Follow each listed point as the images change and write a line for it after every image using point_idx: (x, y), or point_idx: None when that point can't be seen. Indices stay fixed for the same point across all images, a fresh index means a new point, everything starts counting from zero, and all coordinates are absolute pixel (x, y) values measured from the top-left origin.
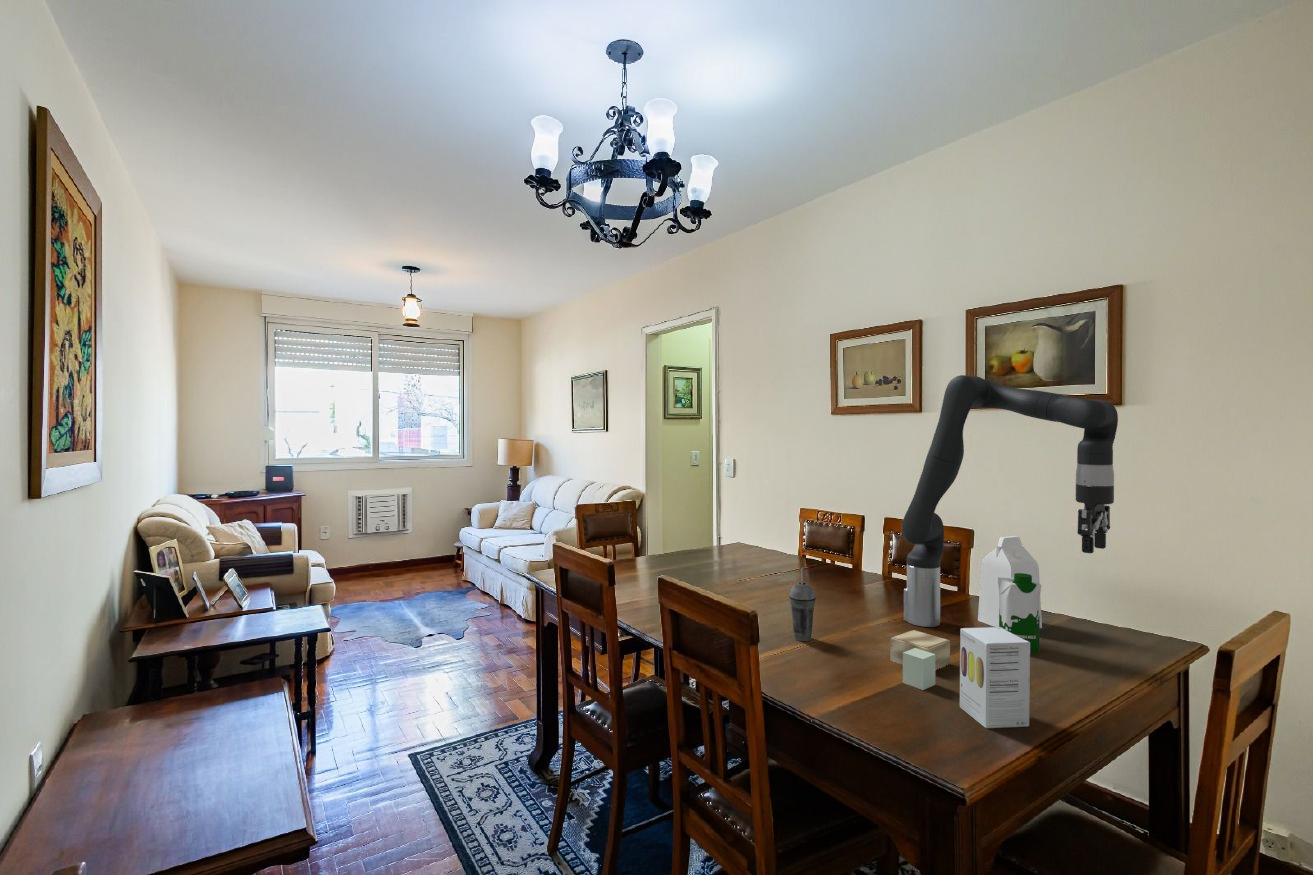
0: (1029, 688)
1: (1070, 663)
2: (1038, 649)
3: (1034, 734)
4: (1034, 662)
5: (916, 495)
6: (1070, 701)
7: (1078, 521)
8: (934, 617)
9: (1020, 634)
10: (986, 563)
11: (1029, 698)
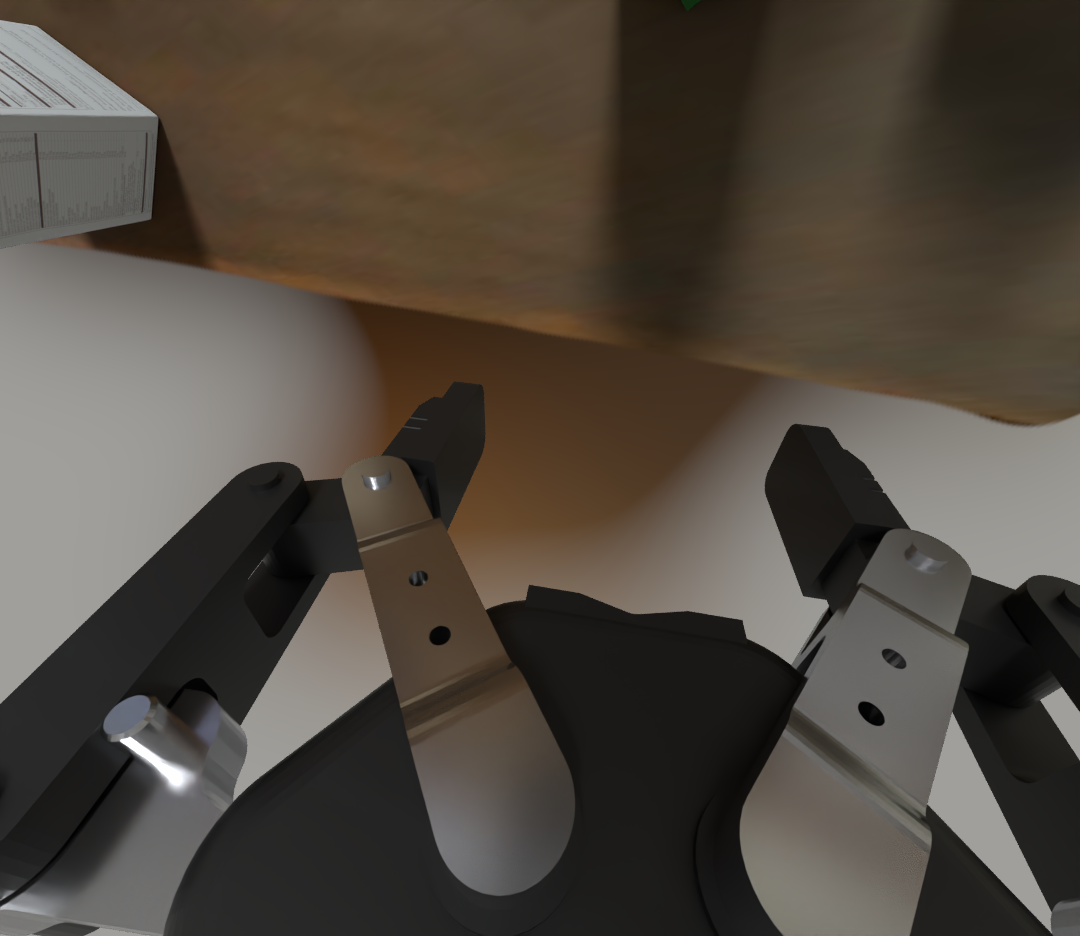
0: (67, 235)
1: (641, 159)
2: (685, 4)
3: (136, 240)
4: (563, 43)
5: None
6: (348, 249)
7: (111, 603)
8: None
9: None
10: None
11: (92, 230)
